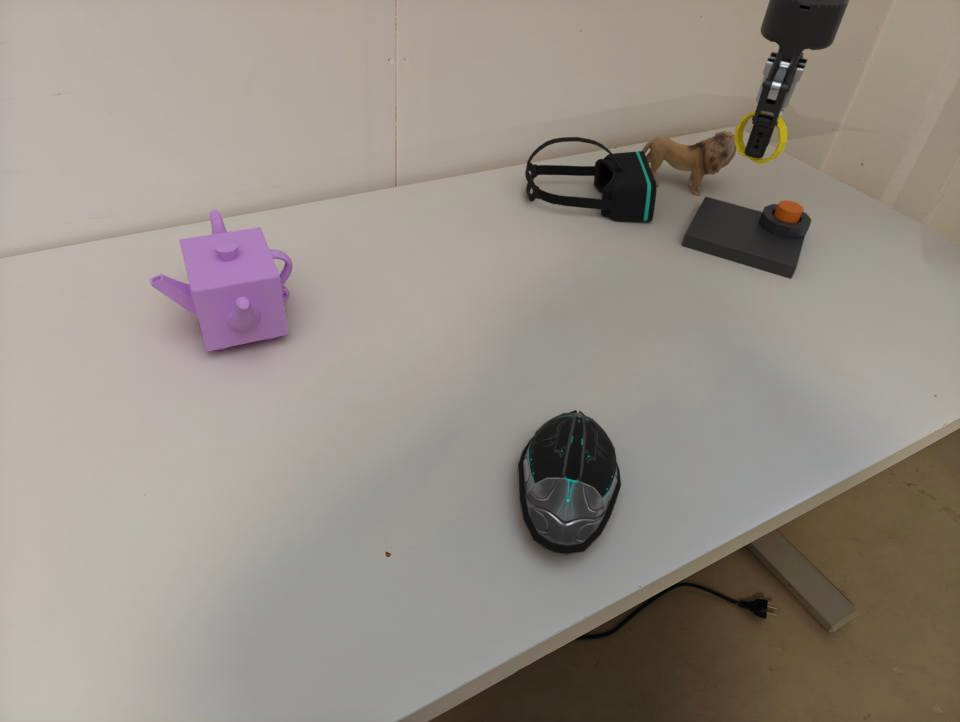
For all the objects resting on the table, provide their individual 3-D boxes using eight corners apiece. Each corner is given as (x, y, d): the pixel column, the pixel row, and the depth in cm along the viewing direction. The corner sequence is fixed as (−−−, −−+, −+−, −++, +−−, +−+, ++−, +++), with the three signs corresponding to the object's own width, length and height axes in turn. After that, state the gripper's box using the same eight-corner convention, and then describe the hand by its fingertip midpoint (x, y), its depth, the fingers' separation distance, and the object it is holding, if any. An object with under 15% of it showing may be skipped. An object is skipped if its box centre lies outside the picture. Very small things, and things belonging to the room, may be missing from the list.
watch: (724, 152, 84) (740, 103, 80) (737, 147, 85) (754, 99, 81) (767, 171, 80) (786, 121, 76) (780, 166, 82) (799, 116, 78)
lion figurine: (721, 184, 104) (740, 126, 98) (723, 201, 100) (743, 142, 94) (623, 170, 105) (637, 112, 99) (622, 185, 101) (636, 126, 95)
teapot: (158, 289, 75) (135, 209, 69) (280, 268, 80) (269, 191, 73) (178, 398, 63) (152, 314, 57) (319, 366, 68) (310, 285, 61)
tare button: (799, 216, 92) (805, 204, 90) (796, 226, 89) (802, 214, 88) (775, 209, 93) (780, 197, 91) (771, 219, 90) (776, 207, 89)
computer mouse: (622, 425, 65) (635, 380, 61) (609, 582, 52) (626, 539, 48) (531, 407, 66) (539, 362, 62) (498, 557, 53) (505, 512, 49)
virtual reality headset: (652, 223, 93) (661, 153, 86) (527, 229, 94) (526, 160, 87) (639, 184, 101) (646, 118, 94) (524, 190, 102) (523, 124, 95)
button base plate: (803, 234, 94) (813, 212, 92) (791, 279, 86) (802, 255, 83) (702, 206, 98) (709, 184, 96) (681, 246, 90) (688, 222, 87)
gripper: (783, -28, 76) (735, 123, 88) (763, -2, 67) (711, 165, 78) (854, -16, 74) (795, 138, 86) (844, 14, 65) (779, 182, 76)
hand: (755, 150), depth 82 cm, fingers closed on watch, 2 cm apart
